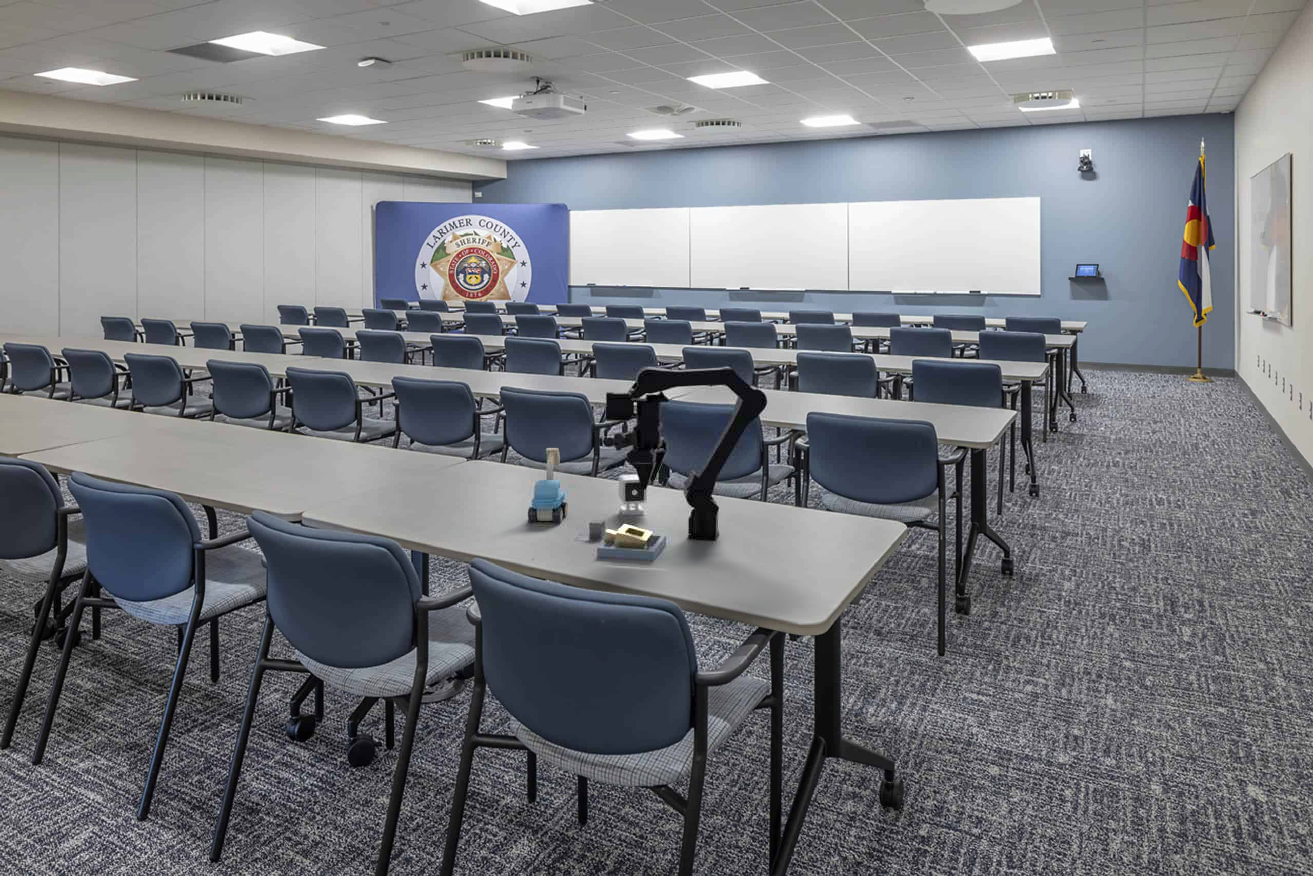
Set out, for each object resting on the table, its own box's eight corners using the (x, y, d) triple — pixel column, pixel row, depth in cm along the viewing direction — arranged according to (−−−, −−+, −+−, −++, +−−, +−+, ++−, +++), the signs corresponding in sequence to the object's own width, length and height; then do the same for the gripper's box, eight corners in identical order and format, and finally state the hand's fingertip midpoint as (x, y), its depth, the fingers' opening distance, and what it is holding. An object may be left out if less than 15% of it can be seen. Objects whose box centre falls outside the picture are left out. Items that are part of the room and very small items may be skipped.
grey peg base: (620, 533, 228) (620, 517, 227) (610, 544, 219) (610, 527, 218) (584, 531, 230) (584, 515, 229) (573, 541, 221) (573, 525, 220)
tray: (665, 545, 218) (666, 535, 218) (653, 562, 206) (653, 551, 205) (612, 541, 221) (612, 531, 221) (597, 558, 209) (597, 547, 208)
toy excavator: (572, 509, 250) (571, 446, 247) (560, 526, 234) (559, 459, 231) (541, 508, 251) (540, 446, 248) (526, 525, 235) (525, 459, 231)
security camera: (622, 517, 242) (622, 480, 240) (618, 510, 249) (618, 474, 247) (646, 516, 243) (646, 479, 241) (641, 509, 250) (641, 473, 248)
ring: (649, 546, 216) (652, 532, 215) (642, 555, 209) (645, 540, 208) (609, 534, 218) (612, 520, 217) (600, 542, 211) (604, 528, 210)
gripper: (625, 413, 230) (625, 474, 233) (604, 425, 212) (605, 492, 215) (669, 414, 228) (669, 477, 231) (652, 427, 210) (652, 495, 213)
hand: (648, 484), depth 222 cm, fingers open, 9 cm apart
